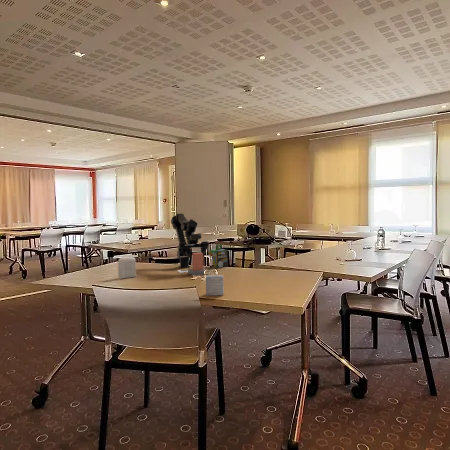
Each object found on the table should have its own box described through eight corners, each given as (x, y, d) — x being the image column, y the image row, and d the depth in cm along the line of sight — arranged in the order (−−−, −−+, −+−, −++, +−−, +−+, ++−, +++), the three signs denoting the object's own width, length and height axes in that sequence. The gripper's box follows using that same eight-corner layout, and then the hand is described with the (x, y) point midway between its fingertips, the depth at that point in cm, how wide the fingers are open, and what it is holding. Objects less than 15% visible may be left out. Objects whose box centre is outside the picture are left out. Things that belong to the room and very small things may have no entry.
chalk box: (220, 265, 265) (219, 243, 264) (228, 266, 258) (227, 244, 257) (209, 266, 259) (208, 244, 259) (217, 268, 252) (216, 245, 251)
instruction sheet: (176, 270, 247) (176, 270, 247) (198, 269, 251) (198, 268, 251) (179, 272, 237) (179, 272, 237) (201, 271, 241) (201, 270, 241)
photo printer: (134, 276, 231) (133, 255, 230) (137, 277, 227) (136, 256, 227) (117, 278, 225) (116, 257, 225) (120, 279, 222) (119, 257, 221)
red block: (192, 269, 234) (192, 253, 233) (201, 268, 236) (200, 252, 235) (194, 270, 229) (194, 253, 229) (203, 269, 232) (203, 253, 231)
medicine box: (223, 293, 178) (223, 274, 178) (223, 295, 174) (222, 276, 173) (207, 293, 179) (206, 275, 178) (205, 295, 174) (205, 276, 174)
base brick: (187, 273, 235) (187, 269, 235) (203, 271, 239) (203, 267, 239) (192, 275, 226) (192, 271, 226) (208, 274, 230) (208, 270, 230)
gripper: (178, 229, 235) (183, 249, 226) (207, 228, 242) (213, 247, 232) (175, 241, 243) (180, 261, 233) (203, 239, 250) (209, 258, 240)
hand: (196, 257), depth 235 cm, fingers open, 9 cm apart
